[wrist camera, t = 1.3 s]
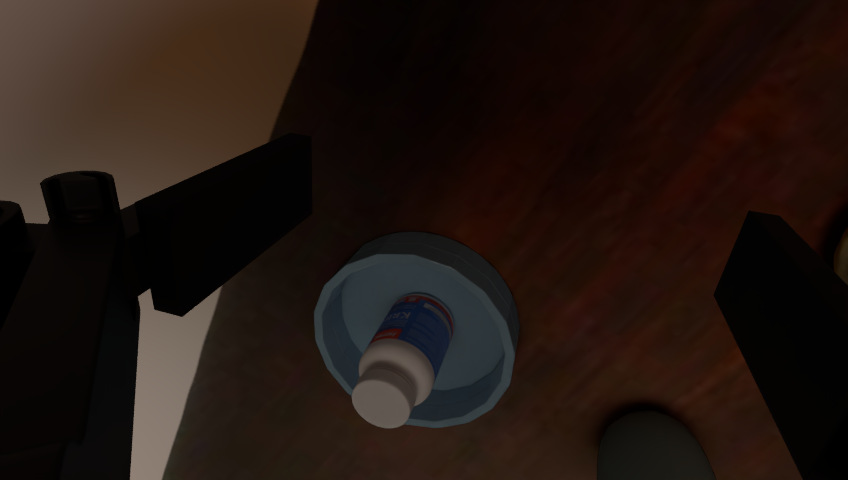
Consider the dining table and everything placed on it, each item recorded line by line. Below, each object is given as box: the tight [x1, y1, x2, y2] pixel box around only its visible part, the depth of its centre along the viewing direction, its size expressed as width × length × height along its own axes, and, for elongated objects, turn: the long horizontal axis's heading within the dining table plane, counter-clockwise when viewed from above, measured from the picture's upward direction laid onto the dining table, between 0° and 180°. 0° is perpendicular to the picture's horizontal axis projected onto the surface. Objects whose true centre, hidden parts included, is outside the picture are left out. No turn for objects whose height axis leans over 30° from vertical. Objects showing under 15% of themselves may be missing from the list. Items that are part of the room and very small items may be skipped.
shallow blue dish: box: [314, 232, 520, 428], centre depth 39 cm, size 15×16×4 cm
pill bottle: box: [352, 293, 454, 428], centre depth 36 cm, size 6×5×10 cm
